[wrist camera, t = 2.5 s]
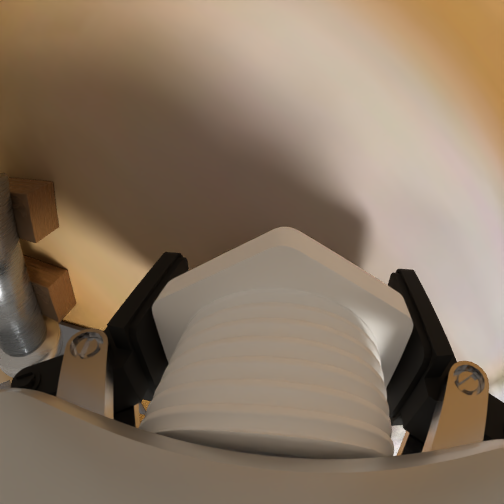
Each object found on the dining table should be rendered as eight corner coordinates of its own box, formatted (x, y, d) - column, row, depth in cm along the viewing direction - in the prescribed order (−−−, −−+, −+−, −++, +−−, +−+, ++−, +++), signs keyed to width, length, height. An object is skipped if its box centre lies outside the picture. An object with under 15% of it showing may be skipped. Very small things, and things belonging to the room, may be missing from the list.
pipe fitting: (383, 187, 9) (511, 379, 2) (353, 341, 12) (363, 510, 6) (201, 180, 10) (37, 339, 3) (218, 331, 13) (161, 488, 7)
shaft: (84, 326, 16) (33, 393, 10) (32, 303, 16) (-17, 356, 11) (53, 165, 11) (-48, 216, 6) (0, 164, 11) (-78, 204, 6)
